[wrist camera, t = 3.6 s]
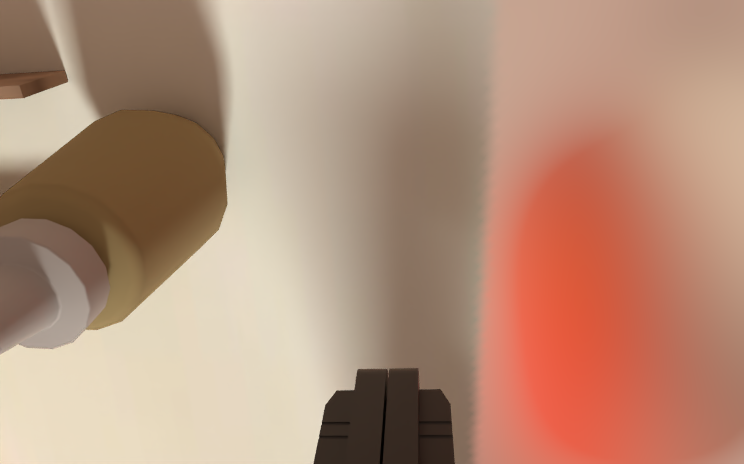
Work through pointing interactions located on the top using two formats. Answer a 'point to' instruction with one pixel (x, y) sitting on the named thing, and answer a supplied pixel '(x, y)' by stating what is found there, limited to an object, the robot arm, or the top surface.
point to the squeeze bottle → (105, 225)
